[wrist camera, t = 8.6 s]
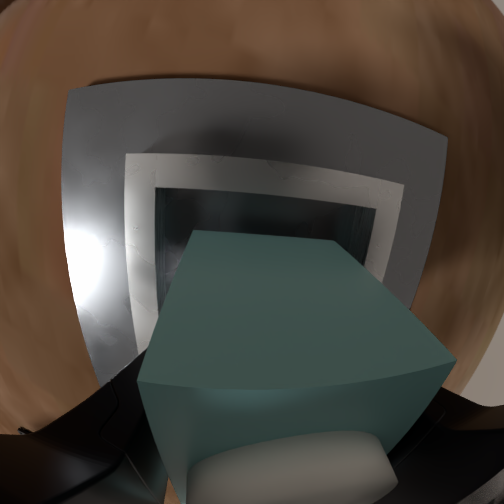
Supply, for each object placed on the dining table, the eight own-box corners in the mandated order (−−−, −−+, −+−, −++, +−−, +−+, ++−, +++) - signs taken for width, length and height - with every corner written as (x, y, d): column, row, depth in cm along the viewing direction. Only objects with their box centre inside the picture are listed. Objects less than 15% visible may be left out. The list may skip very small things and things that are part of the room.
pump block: (193, 373, 10) (183, 536, 4) (193, 230, 8) (115, 455, 2) (300, 374, 11) (347, 522, 4) (333, 240, 9) (490, 398, 2)
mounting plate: (109, 391, 13) (99, 418, 11) (78, 93, 8) (47, 83, 6) (360, 396, 15) (372, 421, 13) (437, 137, 10) (470, 138, 7)
